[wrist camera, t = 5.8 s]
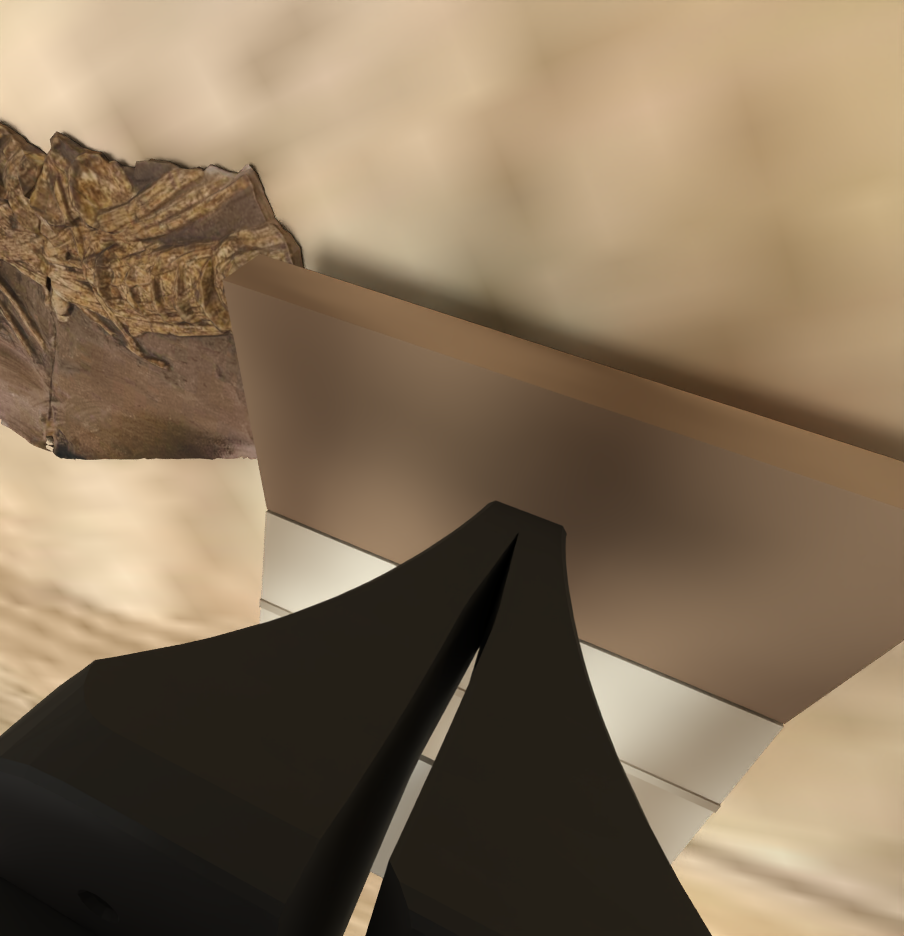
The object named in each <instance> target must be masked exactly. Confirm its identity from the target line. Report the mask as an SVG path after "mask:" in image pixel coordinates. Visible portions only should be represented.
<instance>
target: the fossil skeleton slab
mask: <svg viewBox="0 0 904 936" xmlns="http://www.w3.org/2000/svg"><path fill="white" fill-rule="evenodd" d="M50 143H51V149H50V151H49V152H48V154H47V155H46V154H45V153H44V152H43V151H41V150H40V149H39V148H38V147H36V146H34V145H32V144H30V143H27V142H26V140H25V138H23V137H22V136H21V135H20V134H18V133H17V132H15V131H14V130H12V129H11V128H9V127H7V126H6V125H4V124H2V123H0V419H1V420H2V421H1V424H2V425H5V426H7V427H9V428H10V429H12V430H13V431H15V432H16V433H17V434H19V435H20V436H22V437H23V438H25V439H26V440H27V441H28V442H29V443H31V444H32V445H34V446H37V447H39V448H42V449H45V450H48V449H46V445H47V444H46V441H47V440H46V436H53V438H54V442H53V445H49V446H51V447H53V448H54V449H53V453H54V454H55V455H56V456H58V457H59V458H65V459H74V460H75V458H76V459H84V460H97V459H142V458H146V459H155V458H159V459H189V458H202V459H212V460H213V459H216V458H224V459H234V458H239V457H243V459H244V458H247V457H248V458H249V459H256V458H257V455H256V449H255V444H254V439H253V434H252V429H251V424H250V419H249V413H248V408H247V403H246V398H245V393H244V388H243V383H242V377H241V372H240V367H239V362H238V357H237V352H236V347H235V342H234V336H233V331H232V326H231V321H230V316H229V311H228V306H227V300H226V295H225V290H224V285H223V279H225V278H226V277H227V276H229V275H230V274H232V273H233V272H235V271H236V270H237V269H239V268H240V267H242V266H243V265H245V264H246V263H247V262H249V261H250V260H252V259H253V258H255V257H256V256H257V255H259V254H261V255H264V256H267V257H271V258H274V259H277V260H280V261H283V262H286V263H289V264H292V265H295V266H298V267H301V268H303V264H302V258H301V249H300V247H299V246H298V244H297V243H296V242H295V240H294V238H293V237H292V235H291V233H289V232H287V231H285V230H284V229H282V228H281V227H280V226H282V225H281V224H280V223H279V222H278V221H277V220H276V219H275V218H274V215H273V212H272V209H271V207H270V205H269V203H268V200H267V199H266V197H265V195H264V189H263V186H262V185H261V183H260V181H259V177H258V174H257V173H256V172H255V171H254V170H253V169H252V168H251V167H250V166H249V165H248V164H247V165H245V167H244V168H243V169H242V170H241V171H240V172H239V173H235V172H231V171H226V170H223V169H221V168H219V167H216V166H215V165H212V164H211V165H209V166H208V167H207V168H206V169H205V170H204V169H202V168H200V167H197V168H192V169H184V168H180V167H179V166H178V165H176V164H173V163H170V162H168V161H158V160H155V159H150V160H148V161H137V162H136V165H135V168H133V167H127V166H122V165H121V164H120V163H118V162H117V161H116V160H114V161H109V160H108V159H107V158H106V157H105V155H104V154H103V153H102V152H97V151H92V150H89V149H86V148H84V147H81V146H80V145H79V144H78V143H76V142H74V141H73V140H71V139H70V138H68V137H67V136H65V135H64V134H62V133H59V132H57V131H56V133H55V134H54V135H53V136H52V138H51V139H50ZM48 451H50V450H48Z"/></svg>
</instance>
